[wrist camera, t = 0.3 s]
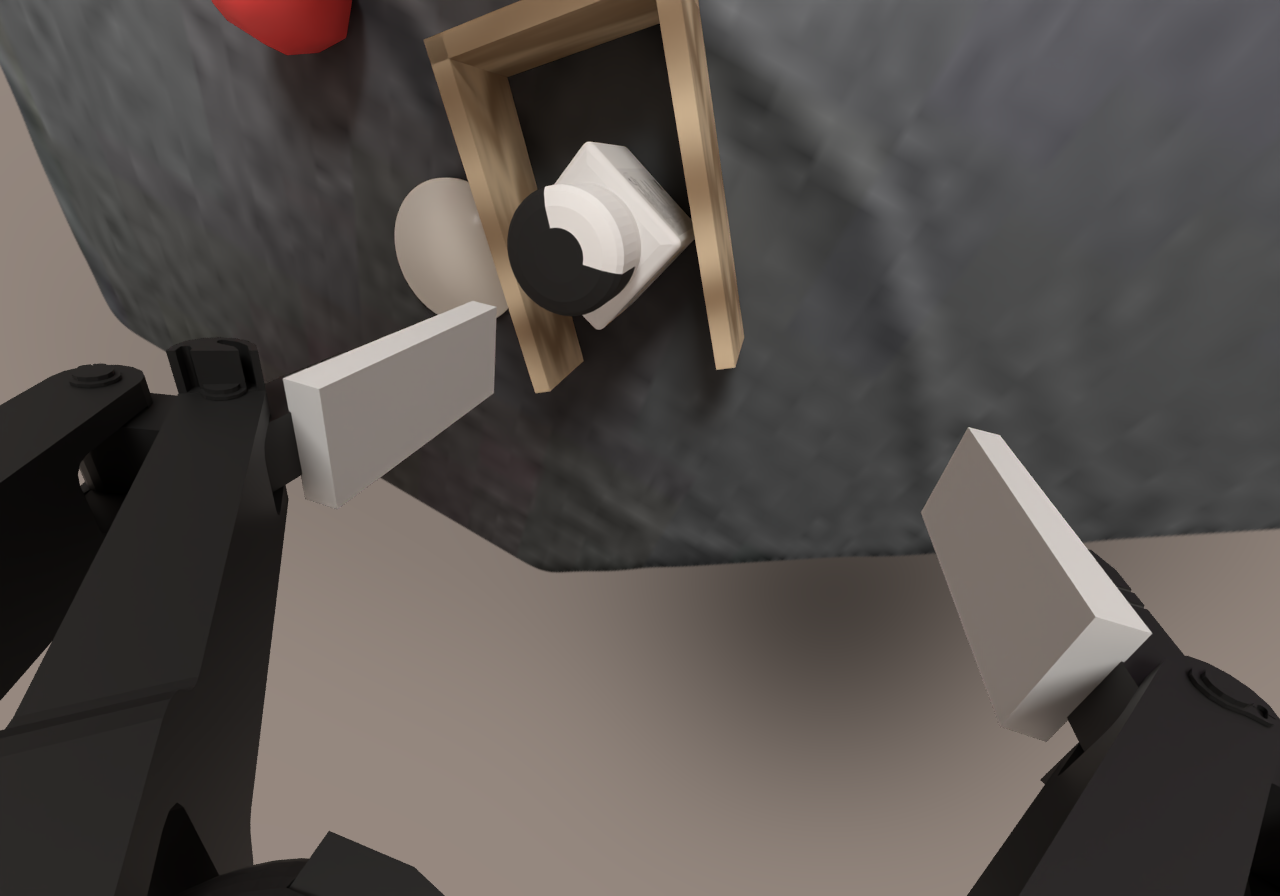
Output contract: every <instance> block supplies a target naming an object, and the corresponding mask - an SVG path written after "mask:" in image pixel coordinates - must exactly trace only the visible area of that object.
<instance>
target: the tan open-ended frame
mask: <svg viewBox="0 0 1280 896" xmlns="http://www.w3.org/2000/svg"><path fill="white" fill-rule="evenodd" d="M659 23H660V27H661V33H662V39H663V45H664V51H665V58H666V64H667V70H668V76H669V82H670V88H671V94H672V101H673V107H674V113H675V119H676V125H677V131H678V137H679V144H680V150H681V156H682V162H683V168H684V174H685V180H686V187H687V193H688V199H689V205H690V211H691V217H692V223H693V230H694V236H695V242H696V248H697V254H698V260H699V266H700V272H701V279H702V285H703V291H704V297H705V303H706V309H707V315H708V322H709V328H710V334H711V340H712V346H713V352H714V358H715V365H716V370H719V369H727V368H735V366H736V363H737V359H738V356H739V353H740V349H741V346H742V343H743V340H744V333H743V325H742V318H741V311H740V303H739V296H738V289H737V281H736V274H735V267H734V259H733V252H732V245H731V237H730V230H729V223H728V215H727V208H726V201H725V193H724V186H723V179H722V171H721V164H720V157H719V149H718V142H717V135H716V127H715V120H714V113H713V105H712V98H711V91H710V84H709V76H708V69H707V62H706V54H705V47H704V40H703V32H702V25H701V18H700V10H699V3H698V0H520V1H518V2H516V3H513V4H511V5H508V6H506V7H503V8H501V9H498V10H496V11H493V12H491V13H488V14H486V15H483V16H481V17H478V18H476V19H474V20H471V21H469V22H466V23H464V24H461V25H459V26H456V27H454V28H451V29H449V30H446V31H444V32H441V33H439V34H436V35H434V36H432V37H429V38H427V39H424V43H425V46H426V50H427V53H428V56H429V59H430V62H431V65H432V68H433V72H434V75H435V78H436V81H437V84H438V87H439V91H440V94H441V97H442V100H443V103H444V106H445V110H446V113H447V116H448V119H449V122H450V125H451V128H452V132H453V135H454V138H455V141H456V144H457V147H458V151H459V154H460V157H461V160H462V163H463V166H464V170H465V173H466V176H467V179H468V182H469V185H470V188H471V192H472V195H473V198H474V201H475V204H476V207H477V211H478V214H479V217H480V220H481V223H482V226H483V230H484V233H485V236H486V239H487V242H488V245H489V248H490V252H491V255H492V258H493V261H494V264H495V267H496V271H497V274H498V277H499V280H500V283H501V286H502V289H503V293H504V296H505V299H506V302H507V305H508V308H509V312H510V315H511V318H512V321H513V324H514V327H515V331H516V334H517V337H518V340H519V343H520V346H521V349H522V353H523V356H524V359H525V362H526V365H527V368H528V372H529V375H530V378H531V381H532V384H533V387H534V391H535V393H541V392H549V391H551V390H552V389H553V388H554V387H555V386H557V385H558V384H559V383H560V382H561V381H562V380H563V379H564V378H565V377H566V376H568V375H569V374H570V373H571V372H572V371H573V370H574V369H575V368H576V367H578V366H579V365H580V364H581V363H582V362H583V361H584V360H583V356H582V353H581V349H580V345H579V341H578V338H577V334H576V330H575V327H574V323H573V319H572V316H563V315H559V314H555V313H552V312H550V311H547V310H546V309H544V308H542V307H540V306H539V305H538V304H536V303H535V302H534V301H533V300H532V299H530V298H529V297H528V296H527V294H526V293H525V292H524V291H523V290H522V288H521V287H520V285H519V283H518V282H517V280H516V278H515V276H514V274H513V271H512V268H511V266H510V262H509V257H508V250H507V237H508V230H509V226H510V222H511V220H512V217H513V215H514V213H515V211H516V209H517V208H518V206H519V205H520V204H521V202H522V201H523V200H524V199H525V198H526V197H527V196H529V195H530V194H531V193H533V192H534V191H536V190H538V189H537V185H536V182H535V178H534V174H533V171H532V167H531V163H530V159H529V156H528V152H527V148H526V145H525V141H524V137H523V133H522V130H521V126H520V122H519V119H518V115H517V111H516V107H515V104H514V100H513V96H512V93H511V89H510V85H509V81H508V78H507V77H510V76H513V75H515V74H518V73H521V72H524V71H527V70H529V69H532V68H535V67H538V66H541V65H544V64H546V63H549V62H552V61H555V60H558V59H560V58H563V57H566V56H569V55H572V54H575V53H577V52H580V51H583V50H586V49H589V48H592V47H594V46H597V45H600V44H603V43H606V42H608V41H611V40H614V39H617V38H620V37H623V36H625V35H628V34H631V33H634V32H637V31H639V30H642V29H645V28H648V27H651V26H654V25H656V24H659Z"/></svg>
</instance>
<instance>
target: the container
mask: <svg viewBox="0 0 1280 896" xmlns="http://www.w3.org/2000/svg"><path fill="white" fill-rule="evenodd" d="M694 239H695V236H694V230H693V223H692V220H691V219H690V218H689V217H688V216H687V214H686V213H685V212H684V211H683V210H682V209H681V208H680V207H679V205H678V204H677V203H676V202H675V201H674V200H673V199H672V198H671V196H670V195H669V194H668V193H667V192H666V191H665V190H664V189H663V187H662V186H661V185H660V184H659V183H658V182H657V181H656V180H655V178H654V177H653V176H652V175H651V174H650V173H649V172H648V171H647V169H646V168H645V167H644V166H643V165H642V164H641V163H640V162H639V161H638V159H637V158H636V157H635V156H634V155H633V154H632V153H631V152H630V150H629V149H628V148H627V147H625V146H619V145H611V144H604V143H597V142H586V143H585V144H583V146H582V147H581V149H580V150H579V151H578V153H577V154H576V155H575V157H574V158H573V159H572V161H571V162H570V164H569V165H568V166H567V168H566V169H565V170H564V172H563V173H562V174H561V176H560V177H559V179H558V180H557V181H556V183H555V184H554V185H550V186H545V187H543V188H540V189H538V190H536V191H534V192H533V193H531V194H530V195H529V196H527V197H526V198H525V199H524V200H523V201H522V202H521V204H520V205H519V206H518V208H517V209H516V211H515V213H514V215H513V217H512V220H511V222H510V226H509V230H508V237H507V250H508V257H509V262H510V266H511V268H512V271H513V274H514V276H515V278H516V280H517V282H518V283H519V285H520V287H521V288H522V290H523V291H524V292H525V293H526V294H527V296H528V297H529V298H530V299H532V300H533V301H534V302H535V303H536V304H538V305H539V306H540V307H542V308H544V309H546V310H547V311H550V312H552V313H555V314H559V315H563V316H580V315H582V316H583V317H584V318H585V319H586V320H587V321H588V322H589V323H590V324H591V325H592V326H593V327H594V328H595V329H598V330H601V329H603V328H604V327H605V326H607V325H608V324H609V323H610V322H611V321H613V320H614V319H615V318H616V317H617V316H619V315H620V314H621V313H622V312H623V311H625V310H626V309H627V308H628V307H629V306H631V305H632V304H633V303H634V302H635V301H636V300H637V299H638V298H639V297H640V295H641V294H642V293H643V292H644V291H645V290H646V289H647V288H648V287H649V286H650V285H651V284H652V283H653V282H654V281H655V280H656V279H657V278H658V277H659V276H660V275H661V274H662V273H663V271H664V270H665V269H666V268H667V267H668V266H669V265H670V264H671V263H672V262H673V261H674V260H675V259H676V258H677V257H678V256H679V255H680V254H681V253H682V252H683V251H684V250H685V248H686V247H687V246H688V245H689V244H690V243H691V242H692V241H693V240H694Z"/></svg>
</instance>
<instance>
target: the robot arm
mask: <svg viewBox="0 0 1280 896" xmlns="http://www.w3.org/2000/svg"><path fill="white" fill-rule="evenodd" d="M496 313H497V307H495V306H491V305H487V304H483V303H479V302H475V301H471V302H469V303H466V304H464V305H461V306H459V307H456V308H454V309H451V310H449V311H447V312H444V313H442V314H439V315H437V316H434V317H432V318H429V319H427V320H424V321H422V322H420V323H417V324H415V325H412V326H410V327H407V328H405V329H402V330H400V331H398V332H395V333H393V334H390V335H388V336H385V337H383V338H380V339H378V340H376V341H373V342H371V343H368V344H366V345H363V346H361V347H358V348H356V349H354V350H351V351H349V352H346V353H340V354H337V355H335V356H332V357H330V358H327V359H325V360H322V361H321V363H319V362H318V363H315V364H313V365H310V366H308V367H307V369H304V368H303V369H300V370H298V371H295V372H293V373H290V374H288V375H285V376H283V377H280V378H278V379H276V380H273V381H271V382H268V383H266V384H264V379H263V374H262V369H261V364H260V360H259V355H258V350H257V347H256V345H254V344H252V343H250V342H249V341H245V340H240V339H236V338H222V337H217V338H201V339H195V340H189V341H184V342H181V343H179V344H176V345H173V346H172V347H170V348H169V349H168V350H166V353H167V356H168V359H169V362H170V365H171V369H172V373H173V376H174V379H175V383H176V386H177V389H178V392H179V394H178V396H174V395H165V394H154V393H150V392H149V389H148V385H147V382H146V380H145V376H144V374H143V372H142V371H141V370H138V369H136V368H134V367H129V366H122V365H106V364H93V365H82V366H79V367H78V368H75V369H71V370H67V371H63V372H61V373H58V374H56V375H53V376H51V377H49V378H47V379H45V380H44V381H42V382H40V383H38V384H37V385H35V386H33V387H31V388H30V389H28V390H26V391H25V392H23V393H21V394H19V395H17V396H16V397H14V398H12V399H10V400H9V401H7V402H5V403H3V404H2V405H0V700H1V699H2V698H3V697H4V696H5V695H6V693H7V692H8V691H9V690H10V689H11V688H12V687H13V685H14V684H15V683H16V682H17V681H18V680H19V679H20V677H21V676H22V675H23V674H24V673H25V672H26V670H27V669H28V668H29V667H30V666H31V665H32V664H33V662H34V661H35V660H36V659H37V658H38V657H39V656H40V654H41V653H42V652H43V651H44V650H45V649H46V648H47V646H48V645H49V644H50V643H51V642H52V643H51V645H50V647H49V649H48V651H47V653H46V655H45V656H44V658H43V660H42V663H41V664H40V666H39V668H38V670H37V672H36V674H35V676H34V678H33V680H32V682H31V684H30V686H29V688H28V690H27V692H26V694H25V696H24V698H23V700H22V702H21V704H20V706H19V708H18V709H17V711H16V713H15V716H14V717H13V719H12V720H11V722H10V723H9V724H8V726H7V727H6V729H5V730H1V731H0V896H444V895H443V894H442V893H441V892H440V891H439V890H438V889H437V888H436V887H435V886H434V885H433V884H432V883H431V882H430V881H428V880H427V879H426V878H425V877H424V876H423V875H422V874H421V873H420V872H418V870H417V869H416V868H415V867H413V866H410V865H408V864H406V863H403V862H401V861H399V860H396V859H394V858H391V857H389V856H387V855H385V854H382V853H380V852H377V851H375V850H373V849H370V848H368V847H366V846H363V845H361V844H359V843H356V842H354V841H352V840H349V839H347V838H345V837H342V836H340V835H337V834H335V833H333V832H330V831H329V832H328V833H327V835H326V836H325V837H324V839H323V840H322V842H321V843H320V844H319V846H318V847H317V849H316V850H315V852H314V853H313V854H312V856H311V858H310V859H305V858H299V859H287V860H276V861H271V862H266V863H261V864H256V865H253V855H252V845H251V834H250V818H251V817H250V816H251V806H252V797H253V789H254V781H255V772H256V764H257V756H258V747H259V739H260V731H261V723H262V714H263V705H264V698H265V690H266V681H267V673H268V665H269V655H270V648H271V640H272V631H273V623H274V615H275V607H276V598H277V590H278V582H279V573H280V564H281V557H282V548H283V540H284V532H285V523H286V515H287V507H288V495H287V491H286V484H287V483H289V482H291V481H292V480H294V479H295V478H297V477H299V476H300V475H301V479H302V484H303V489H304V495H305V499H307V500H310V501H313V502H316V503H319V504H322V505H325V506H328V507H331V508H334V509H339V508H340V507H341V506H343V505H344V504H345V503H347V502H348V501H349V500H351V499H352V498H353V497H355V496H356V495H357V494H358V493H360V492H361V491H363V490H364V489H365V488H367V487H368V486H369V485H371V484H372V483H373V482H375V481H376V480H377V479H379V478H380V477H382V476H383V475H384V474H386V473H387V472H388V471H390V470H391V469H392V468H394V467H395V466H396V465H398V464H399V463H400V462H402V461H403V460H404V459H406V458H407V457H408V456H410V455H411V454H412V453H414V452H415V451H416V450H418V449H419V448H421V447H422V446H423V445H425V444H426V443H427V442H429V441H430V440H431V439H433V438H434V437H435V436H437V435H438V434H439V433H441V432H442V431H443V430H445V429H446V428H447V427H449V426H450V425H451V424H453V423H454V422H455V421H457V420H458V419H460V418H461V417H462V416H464V415H465V414H466V413H468V412H469V411H470V410H472V409H473V408H474V407H476V406H477V405H478V404H480V403H481V402H482V401H484V400H485V399H486V398H488V397H489V396H490V395H492V394H493V393H494V373H495V343H496ZM79 469H80V471H81V473H82V476H83V478H84V480H85V482H84V483H83V484H82V485H81V486H80V484H79V478H78V471H79ZM921 514H922V516H923V519H924V522H925V525H926V527H927V530H928V533H929V535H930V538H931V541H932V544H933V546H934V549H935V552H936V555H937V557H938V560H939V562H940V565H941V568H942V570H943V574H944V576H945V579H946V582H947V584H948V587H949V590H950V593H951V595H952V598H953V601H954V603H955V606H956V609H957V611H958V614H959V617H960V620H961V622H962V625H963V628H964V631H965V633H966V636H967V638H968V641H969V644H970V647H971V650H972V652H973V655H974V658H975V661H976V663H977V666H978V668H979V671H980V674H981V677H982V679H983V682H984V685H985V688H986V690H987V693H988V696H989V699H990V701H991V704H992V707H993V709H994V712H995V715H996V717H997V720H998V723H999V726H1000V727H1003V728H1006V729H1009V730H1012V731H1015V732H1018V733H1021V734H1024V735H1027V736H1030V737H1033V738H1037V739H1039V740H1042V741H1046V742H1047V741H1048V740H1049V739H1050V738H1051V737H1052V736H1053V735H1054V734H1055V733H1056V732H1057V731H1058V730H1059V728H1060V727H1062V726H1063V725H1064V724H1065V722H1067V720H1068V721H1069V723H1070V724H1071V727H1072V728H1073V731H1074V733H1075V735H1076V737H1077V739H1078V741H1079V743H1078V744H1077V745H1076V746H1075V747H1074V748H1073V749H1071V751H1069V752H1068V753H1067V754H1066V755H1065V756H1064V757H1063V758H1062V759H1061V760H1060V761H1059V762H1058V763H1057V764H1056V765H1055V766H1054V767H1053V768H1052V769H1051V770H1050V771H1049V772H1048V773H1047V774H1046V775H1045V776H1044V777H1043V778H1042V779H1041V781H1042V782H1043V783H1044V784H1045V786H1044V787H1043V788H1042V790H1041V791H1040V793H1039V794H1038V795H1037V797H1036V798H1035V800H1034V801H1033V802H1032V804H1031V805H1030V807H1029V808H1028V810H1027V811H1026V812H1025V814H1024V815H1023V817H1022V818H1021V819H1020V821H1019V822H1018V824H1017V825H1016V827H1015V828H1014V829H1013V831H1012V832H1011V834H1010V835H1009V837H1008V838H1007V839H1006V841H1005V842H1004V844H1003V845H1002V847H1001V848H1000V849H999V851H998V852H997V854H996V855H995V856H994V858H993V859H992V861H991V862H990V864H989V865H988V867H987V868H986V869H985V871H984V872H983V874H982V875H981V876H980V878H979V879H978V881H977V882H976V884H975V885H974V886H973V888H972V889H971V891H970V892H969V893H968V895H967V896H1280V719H1279V717H1278V716H1277V715H1276V714H1275V712H1274V711H1273V710H1272V708H1271V707H1270V706H1269V705H1268V704H1267V703H1266V702H1265V701H1264V700H1263V699H1261V698H1260V697H1259V696H1258V695H1257V694H1256V693H1255V692H1254V691H1252V690H1251V689H1250V688H1248V687H1247V686H1246V685H1244V684H1243V683H1241V682H1240V681H1238V680H1237V679H1235V678H1234V677H1232V676H1231V675H1229V674H1227V673H1225V672H1224V671H1222V670H1220V669H1218V668H1216V667H1214V666H1212V665H1210V664H1208V663H1206V662H1203V661H1201V660H1198V659H1195V658H1192V657H1189V656H1184V655H1183V653H1182V652H1181V651H1180V649H1179V648H1178V647H1177V646H1176V645H1175V643H1174V642H1173V641H1172V639H1171V638H1170V637H1169V636H1168V635H1167V633H1166V632H1165V631H1164V629H1163V628H1162V627H1161V626H1160V624H1159V623H1158V622H1157V621H1156V619H1155V618H1154V617H1153V616H1152V614H1150V612H1149V611H1148V610H1147V609H1144V604H1143V603H1142V602H1141V601H1140V599H1139V598H1138V597H1137V596H1136V595H1135V593H1132V592H1131V588H1130V587H1129V586H1128V585H1127V583H1126V582H1125V581H1124V580H1123V578H1122V577H1121V576H1120V575H1119V573H1118V572H1117V571H1116V570H1115V569H1114V568H1113V567H1111V566H1110V565H1109V564H1108V563H1106V562H1105V561H1104V560H1103V559H1102V558H1100V557H1099V556H1098V555H1097V554H1095V553H1094V552H1093V551H1092V550H1089V549H1087V548H1086V547H1085V545H1084V544H1083V543H1082V542H1081V540H1080V539H1079V538H1078V536H1077V535H1076V534H1075V532H1074V531H1073V530H1072V529H1071V527H1070V526H1069V525H1068V523H1067V522H1066V521H1065V519H1064V518H1063V517H1062V516H1061V514H1060V513H1059V512H1058V510H1057V509H1056V508H1055V506H1054V505H1053V504H1052V503H1051V501H1050V500H1049V499H1048V497H1047V496H1046V495H1045V493H1044V492H1043V491H1042V490H1041V488H1040V487H1039V486H1038V484H1037V483H1036V482H1035V480H1034V479H1033V478H1032V477H1031V475H1030V474H1029V473H1028V471H1027V470H1026V469H1025V467H1024V466H1023V465H1022V464H1021V462H1020V461H1019V460H1018V458H1017V457H1016V456H1015V454H1014V453H1013V452H1012V451H1011V449H1010V448H1009V447H1008V445H1007V444H1006V443H1005V442H1004V440H1003V439H1002V438H1001V436H1000V435H997V434H993V433H989V432H985V431H981V430H977V429H973V428H969V427H968V429H967V430H966V432H965V434H964V436H963V438H962V439H961V441H960V443H959V445H958V447H957V448H956V450H955V452H954V454H953V456H952V458H951V459H950V461H949V463H948V465H947V467H946V468H945V470H944V472H943V474H942V476H941V477H940V479H939V481H938V483H937V485H936V486H935V488H934V490H933V492H932V494H931V495H930V497H929V499H928V501H927V503H926V504H925V506H924V508H923V510H922V512H921Z"/></svg>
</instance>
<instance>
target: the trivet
mask: <svg viewBox="0 0 1280 896" xmlns="http://www.w3.org/2000/svg"><path fill="white" fill-rule="evenodd" d="M395 248H396V254H397V258H398V262H399V265H400V268H401V270H402V272H403V275H404V277H405V279H406V281H407V282H408V284H409V286H410V287H411V289H412V290H413V292H414V293H415V294H416V296H417V297H418V298H419V299H420V300H421V301H422V302H423V303H424V304H425V305H426V306H427V307H428V308H429V309H430V310H432V311H433V312H434V313H436V314H438V315H439V314H442V313H444V312H447V311H449V310H451V309H454V308H456V307H459V306H461V305H464V304H466V303H469V302H471V301H475V302H479V303H483V304H487V305H491V306H495V307H497V313H496V318H498V317H499V316H501V315H502V314H504V313H505V312H506V311H507V310H508V309H509V308H508V305H507V302H506V299H505V296H504V293H503V289H502V286H501V283H500V280H499V277H498V274H497V271H496V267H495V264H494V261H493V258H492V255H491V252H490V248H489V245H488V242H487V239H486V236H485V233H484V230H483V226H482V223H481V220H480V217H479V214H478V211H477V207H476V204H475V201H474V198H473V195H472V192H471V188H470V185H469V182H468V181H466V180H463V179H459V178H436V179H431V180H428V181H425V182H423V183H421V184H420V185H418V186H416V187H415V188H414V189H413V190H412V191H411V192H410V193H409V194H408V195H407V197H406V198H405V199H404V201H403V203H402V205H401V206H400V209H399V212H398V214H397V219H396V223H395Z"/></svg>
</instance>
